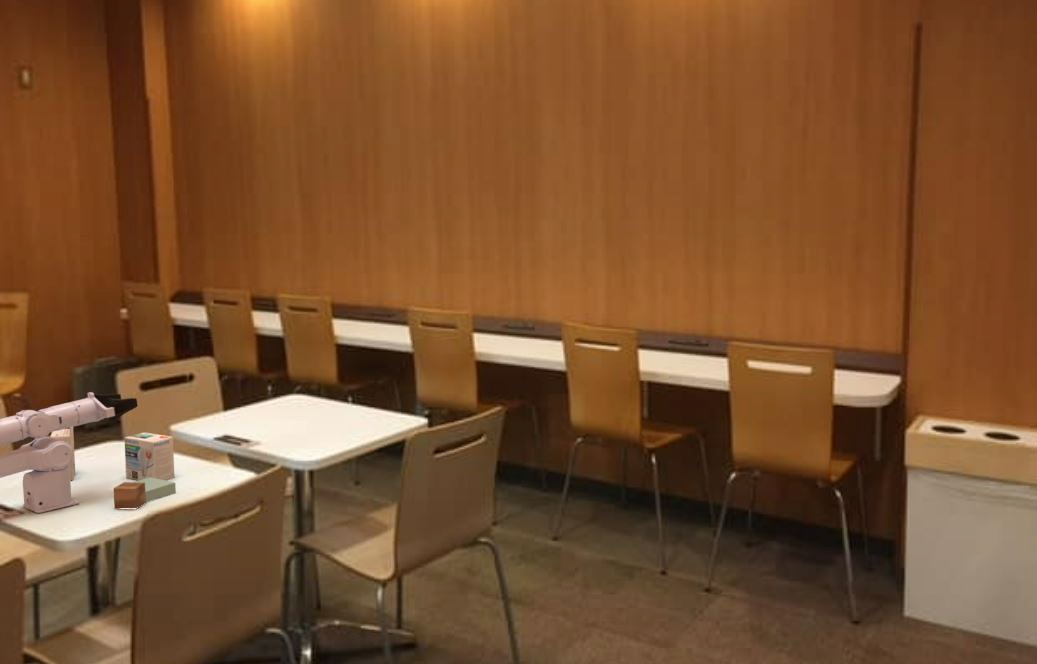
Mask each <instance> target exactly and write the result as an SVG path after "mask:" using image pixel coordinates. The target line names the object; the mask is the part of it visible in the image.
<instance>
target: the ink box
mask: <svg viewBox="0 0 1037 664" xmlns="http://www.w3.org/2000/svg"><path fill="white" fill-rule="evenodd" d="M50 437H52V438H53V439H56V440H59V441H63V442H67V443H68V444H70V445H71V446H72V448H73V451H74V452H75V439H74V427H70V428H66V429H62V430H58V431H53V432H51V434H50ZM69 466H70V480H72V481H74V480H75V476H76V457H75V454H74V456H73V459H72V461H71V463H70V464H69Z"/></svg>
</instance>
